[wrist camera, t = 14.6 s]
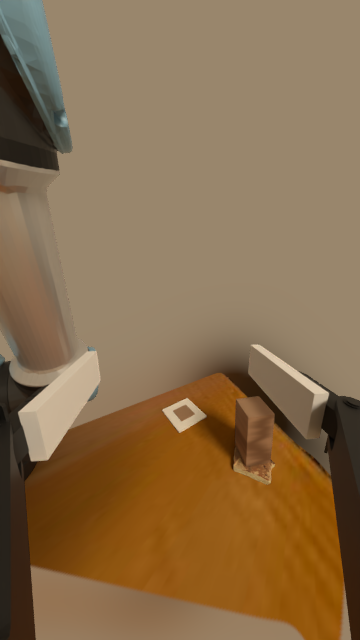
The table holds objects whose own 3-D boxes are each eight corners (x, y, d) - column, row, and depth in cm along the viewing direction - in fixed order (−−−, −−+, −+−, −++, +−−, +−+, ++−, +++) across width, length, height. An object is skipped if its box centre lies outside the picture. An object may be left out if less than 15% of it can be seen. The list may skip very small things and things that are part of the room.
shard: (238, 429, 43) (238, 423, 42) (272, 441, 40) (273, 434, 39) (231, 472, 33) (231, 465, 33) (275, 492, 30) (277, 484, 30)
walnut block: (246, 466, 33) (248, 417, 30) (234, 442, 37) (236, 399, 35) (270, 462, 33) (274, 414, 31) (256, 439, 38) (258, 396, 36)
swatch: (162, 410, 49) (161, 409, 49) (187, 398, 54) (187, 397, 53) (179, 433, 41) (179, 431, 41) (206, 416, 46) (206, 415, 46)
